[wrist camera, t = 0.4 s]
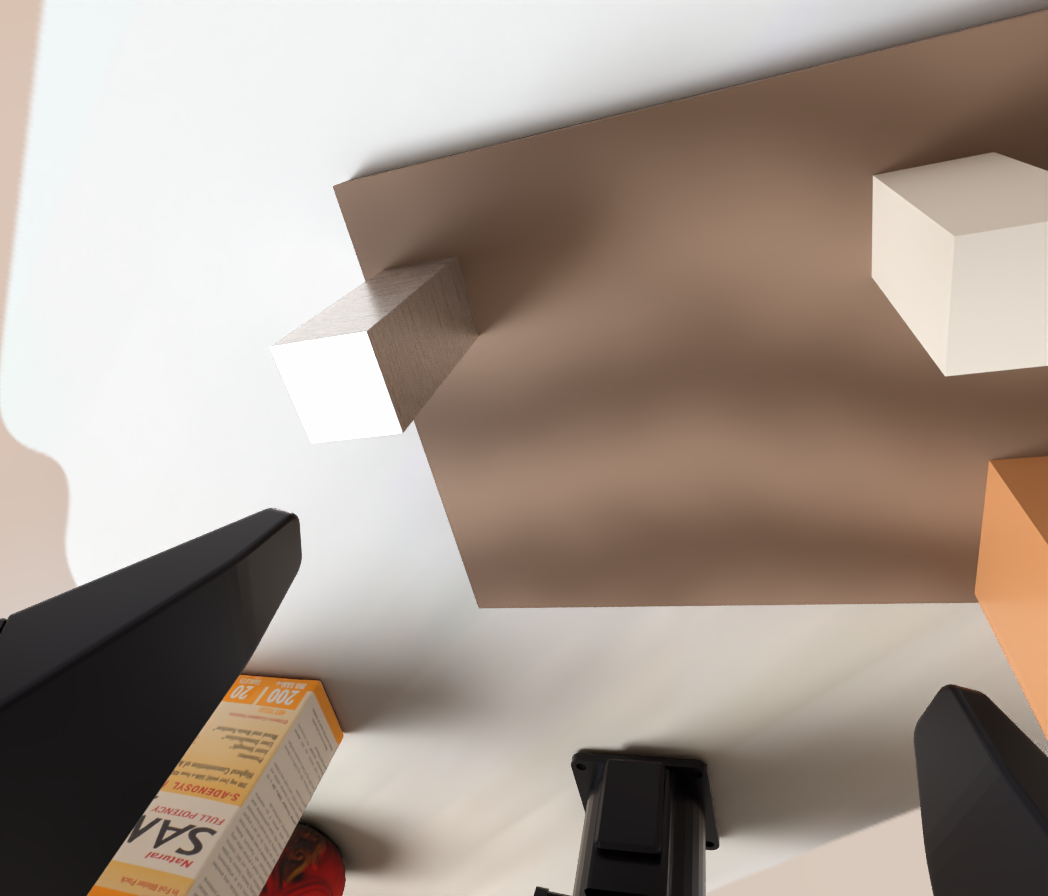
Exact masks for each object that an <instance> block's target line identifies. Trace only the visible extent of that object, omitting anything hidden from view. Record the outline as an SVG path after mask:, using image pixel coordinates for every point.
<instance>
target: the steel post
mask: <svg viewBox="0 0 1048 896" xmlns="http://www.w3.org/2000/svg"><path fill="white" fill-rule="evenodd" d="M478 337H479V332H478V328H477V325H476V321H475V318H474V314H473V310H472V307H471V303H470V300H469V296H468V292H467V289H466V285H465V281H464V278H463V274H462V271H461V267H460V263H459V260H458V256H454V257H448V258H443V259H438V260H433V261H428V262H423V263H417V264H412V265H407V266H402V267H397V268H391V269H386V270H382V271H381V272H379V273H378V274H376V275H375V276H373V277H372V278H370V279H369V280H367V281H366V282H364V283H363V284H362V285H360V286H359V287H357V288H356V289H354V290H353V291H351V292H350V293H348V294H347V295H345V296H344V297H343V298H341V299H340V300H338V301H337V302H335V303H334V304H332V305H331V306H329V307H328V308H326V309H325V310H324V311H322V312H321V313H319V314H318V315H316V316H315V317H313V318H312V319H310V320H309V321H307V322H306V323H305V324H303V325H302V326H300V327H299V328H297V329H296V330H294V331H293V332H291V333H290V334H288V335H287V336H286V337H284V338H283V339H281V340H280V341H278V342H277V343H275V344H274V345H272V346H271V347H270V349H271V351H272V354H273V356H274V358H275V361H276V363H277V365H278V368H279V370H280V372H281V374H282V377H283V379H284V381H285V384H286V386H287V388H288V391H289V393H290V395H291V397H292V400H293V402H294V404H295V407H296V409H297V411H298V414H299V416H300V418H301V420H302V423H303V425H304V427H305V430H306V432H307V434H308V436H309V439H310V441H311V443H315V442H325V441H334V440H344V439H353V438H363V437H372V436H382V435H391V434H401V433H403V432H404V431H405V430H406V428H407V427H408V426H409V425H410V423H411V422H412V421H413V420H414V418H415V417H416V416H417V415H418V413H419V412H420V411H421V409H422V408H423V407H424V406H425V404H426V403H427V402H428V401H429V399H430V398H431V397H432V395H433V394H434V393H435V392H436V390H437V389H438V388H439V387H440V385H441V384H442V383H443V381H444V380H445V379H446V378H447V376H448V375H449V374H450V373H451V371H452V370H453V369H454V368H455V366H456V365H457V364H458V362H459V361H460V360H461V359H462V357H463V356H464V355H465V354H466V352H467V351H468V350H469V348H470V347H471V346H472V345H473V343H474V342H475V341H476V340H477V338H478Z"/></svg>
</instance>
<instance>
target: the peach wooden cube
mask: <svg viewBox="0 0 1048 896" xmlns="http://www.w3.org/2000/svg"><path fill="white" fill-rule="evenodd" d="M975 596H976V598H977V600H978V602H979V604H980V606H981V608H982V610H983V612H984V614H985V616H986V618H987V620H988V622H989V624H990V626H991V628H992V630H993V632H994V634H995V636H996V638H997V640H998V642H999V644H1000V646H1001V648H1002V650H1003V652H1004V654H1005V656H1006V658H1007V660H1008V662H1009V664H1010V666H1011V668H1012V670H1013V672H1014V674H1015V676H1016V678H1017V680H1018V682H1019V684H1020V686H1021V688H1022V690H1023V692H1024V694H1025V696H1026V698H1027V700H1028V702H1029V704H1030V706H1031V708H1032V710H1033V712H1034V714H1035V716H1036V718H1037V720H1038V722H1039V724H1040V726H1041V728H1042V730H1043V732H1044V734H1045V736H1046V738H1047V740H1048V456H1043V457H1028V458H1014V459H999V460H989V466H988V475H987V484H986V493H985V502H984V512H983V521H982V530H981V539H980V548H979V557H978V566H977V575H976V584H975Z"/></svg>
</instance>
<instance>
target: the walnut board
mask: <svg viewBox="0 0 1048 896" xmlns="http://www.w3.org/2000/svg"><path fill="white" fill-rule="evenodd" d="M991 152H995V153H998V154H1001V155H1004V156H1007V157H1009V158H1012V159H1015V160H1018V161H1021V162H1024V163H1026V164H1029V165H1032V166H1035V167H1038V168H1041V169H1043V170H1046V171H1048V9H1044V10H1040V11H1036V12H1032V13H1028V14H1024V15H1020V16H1016V17H1011V18H1007V19H1003V20H999V21H995V22H991V23H987V24H983V25H979V26H975V27H971V28H967V29H963V30H959V31H955V32H950V33H946V34H942V35H938V36H934V37H930V38H926V39H922V40H918V41H914V42H910V43H906V44H902V45H898V46H894V47H890V48H885V49H881V50H877V51H873V52H869V53H865V54H861V55H857V56H853V57H849V58H845V59H841V60H837V61H833V62H829V63H824V64H820V65H816V66H812V67H808V68H804V69H800V70H796V71H792V72H788V73H784V74H780V75H776V76H772V77H768V78H763V79H759V80H755V81H751V82H747V83H743V84H739V85H735V86H731V87H727V88H723V89H719V90H715V91H711V92H707V93H702V94H698V95H694V96H690V97H686V98H682V99H678V100H674V101H670V102H666V103H662V104H658V105H654V106H650V107H646V108H641V109H637V110H633V111H629V112H625V113H621V114H617V115H613V116H609V117H605V118H601V119H597V120H593V121H589V122H585V123H580V124H576V125H572V126H568V127H564V128H560V129H556V130H552V131H548V132H544V133H540V134H536V135H532V136H528V137H524V138H519V139H515V140H511V141H507V142H503V143H499V144H495V145H491V146H487V147H483V148H479V149H475V150H471V151H467V152H463V153H459V154H454V155H450V156H446V157H442V158H438V159H434V160H430V161H426V162H422V163H418V164H414V165H410V166H406V167H402V168H398V169H393V170H389V171H385V172H381V173H377V174H373V175H369V176H365V177H361V178H357V179H353V180H349V181H346V182H343V183H340V184H337V185H335V186H333V188H334V191H335V194H336V197H337V200H338V203H339V206H340V209H341V212H342V214H343V217H344V220H345V223H346V226H347V229H348V232H349V235H350V238H351V240H352V243H353V246H354V249H355V252H356V255H357V258H358V261H359V264H360V266H361V269H362V272H363V275H364V278H365V281H367V280H369V279H370V278H372V277H373V276H375V275H376V274H378V273H379V272H381V271H382V270H386V269H391V268H397V267H402V266H407V265H412V264H417V263H423V262H428V261H433V260H438V259H443V258H448V257H454V256H458V260H459V263H460V267H461V271H462V274H463V278H464V281H465V285H466V289H467V292H468V296H469V300H470V303H471V307H472V310H473V314H474V318H475V321H476V325H477V328H478V332H479V337H478V338H477V340H476V341H475V342H474V343H473V345H472V346H471V347H470V348H469V350H468V351H467V352H466V354H465V355H464V356H463V357H462V359H461V360H460V361H459V362H458V364H457V365H456V366H455V368H454V369H453V370H452V371H451V373H450V374H449V375H448V376H447V378H446V379H445V380H444V381H443V383H442V384H441V385H440V387H439V388H438V389H437V390H436V392H435V393H434V394H433V395H432V397H431V398H430V399H429V401H428V402H427V403H426V404H425V406H424V407H423V408H422V409H421V411H420V412H419V413H418V415H417V416H416V417H415V418H414V422H415V425H416V428H417V431H418V434H419V437H420V440H421V442H422V445H423V448H424V451H425V454H426V457H427V460H428V463H429V465H430V468H431V471H432V474H433V477H434V480H435V483H436V486H437V489H438V491H439V494H440V497H441V500H442V503H443V506H444V509H445V512H446V515H447V517H448V520H449V523H450V526H451V529H452V532H453V535H454V538H455V540H456V543H457V546H458V549H459V552H460V555H461V558H462V561H463V564H464V566H465V569H466V572H467V575H468V578H469V581H470V584H471V587H472V590H473V592H474V595H475V598H476V601H477V604H478V607H479V608H547V607H634V606H721V605H807V604H894V603H979V602H978V600H977V598H976V596H975V584H976V575H977V566H978V557H979V548H980V539H981V530H982V521H983V512H984V502H985V493H986V484H987V475H988V466H989V460H999V459H1014V458H1028V457H1043V456H1048V366H1040V367H1031V368H1021V369H1011V370H1002V371H992V372H983V373H973V374H964V375H954V376H944V374H943V373H942V371H941V370H940V369H939V367H938V366H937V365H936V363H935V362H934V361H933V359H932V358H931V357H930V355H929V354H928V352H927V351H926V350H925V348H924V347H923V346H922V344H921V343H920V342H919V340H918V339H917V338H916V336H915V335H914V333H913V332H912V331H911V329H910V328H909V327H908V325H907V324H906V323H905V321H904V320H903V319H902V317H901V316H900V315H899V313H898V312H897V310H896V309H895V308H894V306H893V305H892V304H891V302H890V301H889V300H888V298H887V297H886V296H885V294H884V293H883V291H882V290H881V289H880V287H879V286H878V285H877V283H876V282H875V281H874V279H873V278H872V210H873V175H878V174H883V173H888V172H893V171H898V170H903V169H909V168H914V167H919V166H924V165H929V164H934V163H940V162H945V161H950V160H955V159H960V158H965V157H971V156H976V155H981V154H986V153H991Z"/></svg>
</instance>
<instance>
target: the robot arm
mask: <svg viewBox="0 0 1048 896" xmlns="http://www.w3.org/2000/svg"><path fill="white" fill-rule="evenodd" d="M301 559H302V552H301V537H300V523H299V519H298V517H297V515H295V514H294V513H291V512H287V511H283V510H280V509H276V508H268V509H265V510H262V511H260V512H258V513H255V514H253V515H250V516H248V517H246V518H243V519H241V520H238V521H236V522H233V523H231V524H229V525H226V526H224V527H221V528H219V529H217V530H214V531H212V532H209V533H207V534H205V535H202V536H200V537H197V538H195V539H192V540H190V541H188V542H185V543H183V544H180V545H178V546H176V547H173V548H171V549H168V550H166V551H164V552H161V553H159V554H156V555H154V556H151V557H149V558H147V559H144V560H142V561H139V562H137V563H135V564H132V565H130V566H127V567H125V568H123V569H120V570H118V571H115V572H113V573H110V574H108V575H106V576H103V577H101V578H98V579H96V580H94V581H91V582H89V583H86V584H84V585H82V586H79V587H77V588H74V589H72V590H69V591H67V592H65V593H62V594H60V595H57V596H55V597H53V598H50V599H48V600H45V601H43V602H40V603H38V604H36V605H33V606H31V607H28V608H26V609H24V610H21V611H19V612H16V613H14V614H12V615H10V616H9V617H8V619H5V618H2V619H0V896H87V895H88V894H89V892H90V891H91V889H92V888H93V886H94V885H95V883H96V882H97V881H98V879H99V878H100V876H101V875H102V873H103V872H104V870H105V869H106V868H107V866H108V865H109V863H110V862H111V860H112V859H113V857H114V856H115V855H116V853H117V852H118V850H119V849H120V847H121V846H122V844H123V843H124V842H125V840H126V839H127V837H128V836H129V834H130V833H131V831H132V830H133V829H134V827H135V826H136V824H137V823H138V821H139V820H140V818H141V817H142V816H143V814H144V813H145V811H146V810H147V808H148V807H149V805H150V804H151V802H152V801H153V800H154V798H155V797H156V795H157V794H158V792H159V791H160V789H161V788H162V787H163V785H164V784H165V782H166V781H167V779H168V778H169V776H170V775H171V774H172V772H173V771H174V769H175V768H176V766H177V765H178V763H179V762H180V761H181V759H182V758H183V756H184V755H185V753H186V752H187V750H188V749H189V748H190V746H191V745H192V743H193V742H194V740H195V739H196V737H197V736H198V735H199V733H200V732H201V730H202V729H203V727H204V726H205V724H206V723H207V722H208V720H209V719H210V717H211V716H212V714H213V713H214V711H215V710H216V709H217V707H218V706H219V704H220V703H221V701H222V700H223V698H224V697H225V696H226V694H227V693H228V691H229V690H230V688H231V687H232V685H233V684H234V683H235V681H236V680H237V678H238V677H239V675H240V674H241V672H242V671H243V669H244V668H245V666H246V665H247V663H248V662H249V660H250V658H251V657H252V655H253V653H254V652H255V650H256V648H257V646H258V645H259V643H260V641H261V639H262V637H263V635H264V633H265V632H266V630H267V628H268V626H269V624H270V622H271V621H272V619H273V617H274V615H275V613H276V611H277V610H278V608H279V606H280V604H281V602H282V600H283V598H284V597H285V595H286V593H287V591H288V589H289V587H290V586H291V584H292V582H293V580H294V578H295V576H296V575H297V573H298V570H299V568H300V564H301ZM914 748H915V758H916V768H917V778H918V787H919V797H920V807H921V817H922V826H923V835H924V845H925V852H926V859H927V865H928V870H929V875H930V880H931V885H932V890H933V895H934V896H1048V757H1047V756H1046V755H1045V754H1044V753H1043V752H1042V751H1041V750H1040V749H1039V748H1038V747H1037V746H1036V745H1035V744H1034V743H1033V742H1032V741H1031V740H1030V739H1029V738H1028V737H1027V736H1026V735H1025V734H1024V733H1023V732H1022V731H1021V730H1020V729H1019V728H1018V727H1017V726H1016V725H1015V724H1014V723H1013V722H1012V721H1011V720H1010V719H1009V718H1008V717H1007V716H1006V715H1005V714H1004V713H1003V712H1002V711H1001V710H1000V709H999V708H998V707H997V706H996V705H995V704H994V703H993V702H992V701H991V700H990V699H989V698H988V697H987V696H986V695H985V694H983V693H981V692H979V691H976V690H972V689H968V688H964V687H961V686H957V685H946V686H944V687H942V688H941V689H940V690H939V692H938V693H937V695H936V696H935V697H934V699H933V700H932V702H931V703H930V705H929V706H928V707H927V709H926V710H925V712H924V713H923V715H922V716H921V717H920V719H919V720H918V722H917V724H916V727H915V731H914ZM571 767H572V770H573V774H574V777H575V780H576V784H577V787H578V790H579V793H580V797H581V800H582V803H583V806H584V810H585V813H586V814H585V820H584V827H583V833H582V840H581V846H580V852H579V859H578V865H577V872H576V878H575V885H574V891H573V896H706V871H705V850H716V849H718V848H719V833H718V827H717V821H716V814H715V808H714V802H713V795H712V789H711V783H710V776H709V770H708V766H707V764H705V763H704V762H702V761H700V760H690V759H673V758H656V757H639V756H623V755H606V754H589V753H576V754H574V755H573V757H572V762H571ZM534 896H569V895H564V894H560V893H555V892H550V891H549V889H547V888H543V887H538V886H537V887H536V890H535V893H534Z"/></svg>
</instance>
